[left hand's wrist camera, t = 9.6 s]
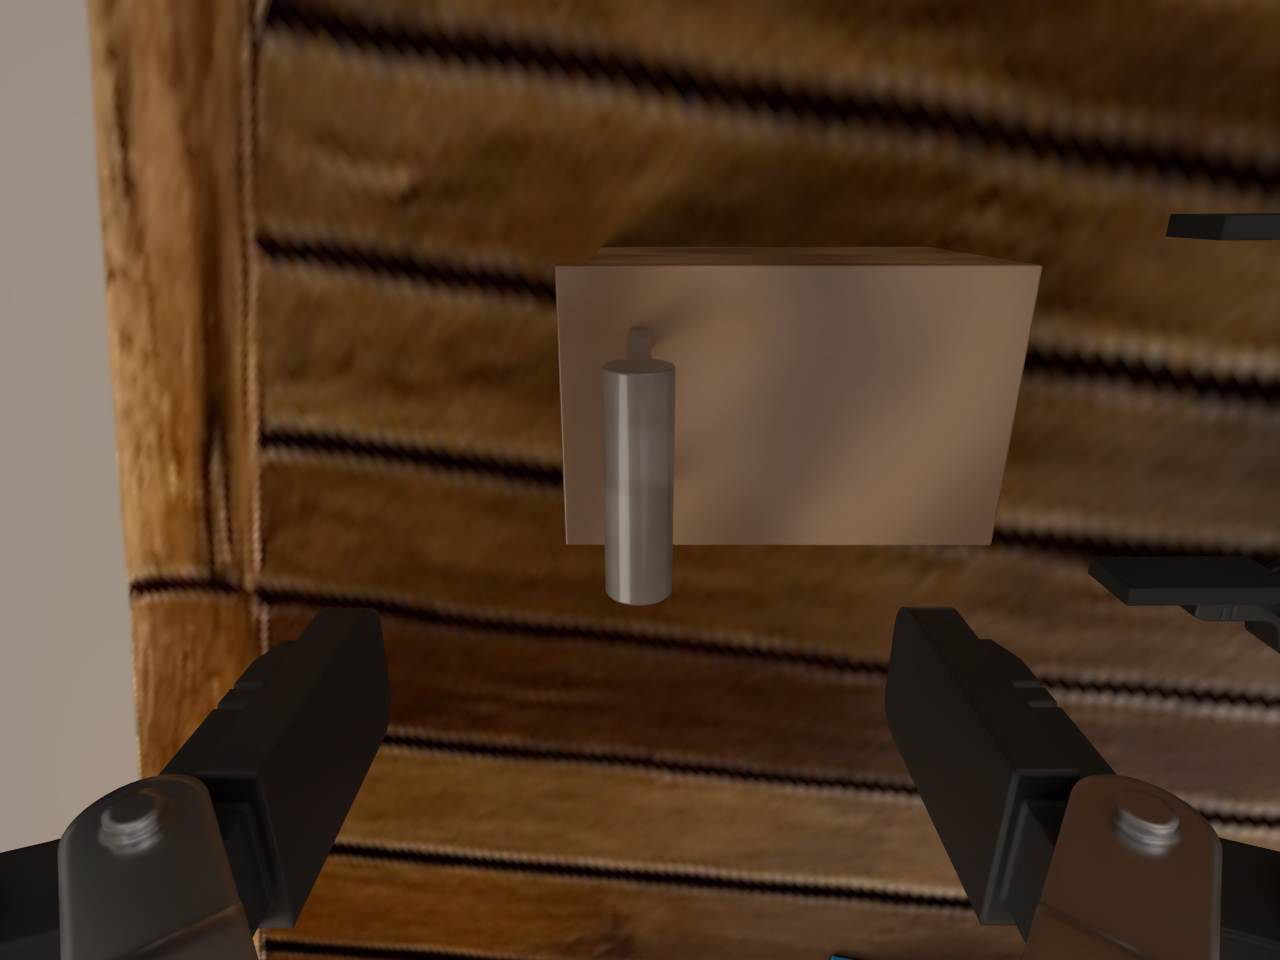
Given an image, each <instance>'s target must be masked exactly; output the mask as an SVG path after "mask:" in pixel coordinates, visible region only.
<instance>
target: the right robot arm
mask: <svg viewBox="0 0 1280 960" xmlns="http://www.w3.org/2000/svg"><path fill="white" fill-rule="evenodd" d="M1166 236H1167V237H1181V238H1195V239H1209V240H1280V213H1257V214H1171V216H1170V220H1169V225H1168V229H1167V233H1166ZM1088 574H1090V575H1091V576H1092V577H1093V578H1094V579H1096V580H1097V581H1098V582H1099V583H1100V584H1102V585H1103V586H1104V587H1105V588H1106V589H1108V590H1109V591H1110V592H1111V593H1112V594H1114V595H1115V596H1116V597H1117V598H1118V599H1120V600H1121V601H1122V602H1123V603H1124V604H1126V605H1127V606H1149V605H1180V606H1181V607H1182V608H1183V609H1185V610H1186V611H1187V612H1189V613H1190V614H1191V615H1193V616H1194V617H1196V618H1198V619H1201V620H1204V621H1245V628H1246V630H1247V631H1249V632H1250V633H1251V634H1253V635H1254V636H1256V637H1257V638H1258V639H1260V640H1261V641H1263V642H1264V643H1265V644H1267V645H1268V646H1270V647H1271V648H1272V649H1274V650H1275V651H1277V652H1278V653H1279V654H1280V557H1279V558H1278V559H1276V560H1274V561H1273V562H1271V563H1270V564H1268V565H1266V566H1265V567H1264V566H1262V565H1261V564H1259V563H1257V562H1255V561H1254V560H1252V559H1250V558H1249V557H1247V556H1183V557H1091V562H1090V566H1089V570H1088Z"/></svg>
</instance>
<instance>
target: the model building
mask: <svg viewBox="0 0 1280 960" xmlns="http://www.w3.org/2000/svg"><path fill="white" fill-rule="evenodd" d="M831 960H851V959H846V958H840V957H835V956H832V958H831Z"/></svg>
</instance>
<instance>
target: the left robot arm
mask: <svg viewBox="0 0 1280 960" xmlns="http://www.w3.org/2000/svg"><path fill="white" fill-rule="evenodd" d="M885 707H886V716H887V721H888V725H889V729H890V732H891V734H892V737H893V739H894V741H895V743H896V745H897V747H898V749H899V751H900V754H901V756H902V758H903V760H904V762H905V764H906V766H907V768H908V771H909V773H910V775H911V777H912V779H913V781H914V783H915V785H916V788H917V790H918V792H919V794H920V796H921V798H922V800H923V802H924V805H925V807H926V809H927V811H928V813H929V815H930V817H931V819H932V822H933V824H934V826H935V828H936V830H937V832H938V834H939V837H940V839H941V841H942V843H943V845H944V847H945V849H946V851H947V854H948V856H949V858H950V860H951V862H952V864H953V866H954V868H955V871H956V873H957V875H958V877H959V879H960V881H961V883H962V885H963V888H964V890H965V892H966V894H967V896H968V898H969V900H970V902H971V905H972V907H973V909H974V911H975V913H976V915H977V917H978V919H979V922H980V924H981V925H1016V926H1017V927H1018V929H1019V931H1020V933H1021V935H1022V937H1023V939H1024V941H1025V943H1026V946H1025V949H1024V953H1023V956H1022V959H1021V960H1280V852H1279V851H1274V850H1270V849H1266V848H1261V847H1257V846H1253V845H1249V844H1244V843H1240V842H1236V841H1231V840H1227V839H1223V838H1219V837H1218V835H1217V834H1216V832H1215V830H1214V829H1213V827H1212V826H1211V825H1210V824H1209V823H1208V821H1207V820H1206V819H1205V818H1204V817H1203V816H1202V815H1201V814H1200V813H1199V812H1197V811H1196V810H1195V809H1194V808H1193V807H1191V806H1190V805H1189V804H1187V803H1186V802H1185V801H1183V800H1181V799H1180V798H1178V797H1177V796H1175V795H1173V794H1171V793H1170V792H1168V791H1166V790H1164V789H1162V788H1160V787H1157V786H1155V785H1152V784H1150V783H1147V782H1144V781H1141V780H1138V779H1135V778H1131V777H1126V776H1120V775H1117V774H1116V773H1115V772H1114V771H1113V770H1112V768H1111V767H1110V766H1109V765H1108V764H1107V762H1106V761H1105V760H1104V759H1103V758H1102V756H1101V755H1100V754H1099V753H1098V751H1097V750H1096V749H1095V748H1094V747H1093V745H1092V744H1091V743H1090V742H1089V741H1088V739H1087V738H1086V737H1085V736H1084V735H1083V733H1082V732H1081V731H1080V730H1079V729H1078V727H1077V726H1076V725H1075V724H1074V723H1073V721H1072V720H1071V719H1070V718H1069V716H1068V715H1067V714H1066V713H1065V712H1064V710H1063V709H1062V708H1058V707H1057V702H1056V701H1055V700H1054V698H1053V697H1052V696H1051V695H1050V694H1049V692H1048V691H1047V690H1046V689H1045V688H1041V683H1040V681H1039V680H1038V679H1037V678H1036V677H1035V675H1034V674H1033V673H1032V672H1031V671H1030V669H1029V668H1028V667H1027V666H1026V665H1025V663H1024V662H1023V661H1022V660H1021V659H1020V658H1018V657H1017V656H1015V655H1014V654H1012V653H1011V652H1009V651H1008V650H1006V649H1005V648H1003V647H1002V646H1000V645H999V644H997V643H996V642H994V641H993V640H991V639H978V637H977V636H976V635H975V633H974V632H973V631H972V630H971V628H970V627H969V626H968V624H967V623H966V622H965V621H964V619H963V618H962V617H961V615H960V614H959V613H958V611H957V610H956V609H954V608H953V607H902V608H901V609H900V610H899V611H898V614H897V617H896V621H895V627H894V635H893V642H892V649H891V656H890V663H889V670H888V677H887V684H886V692H885ZM390 712H391V691H390V684H389V677H388V670H387V663H386V656H385V649H384V642H383V635H382V628H381V622H380V618H379V615H378V612H377V611H376V610H375V609H374V608H324V609H322V610H320V611H319V612H318V614H317V615H316V616H315V617H314V619H313V620H312V621H311V623H310V624H309V625H308V626H307V628H306V629H305V630H304V632H303V633H302V634H301V635H300V637H299V638H298V639H297V641H284V642H282V643H281V644H279V645H278V646H276V647H274V648H273V649H271V650H270V651H268V652H267V653H265V654H264V655H262V656H261V657H259V658H258V659H256V660H255V661H254V662H253V663H252V664H251V665H250V666H249V668H248V669H247V670H246V671H245V672H244V674H243V675H242V676H241V677H240V678H239V680H238V681H237V682H236V683H235V684H234V689H230V690H229V692H228V693H227V694H226V695H225V696H224V697H223V699H222V700H221V701H220V702H219V703H218V708H217V709H213V711H212V712H211V713H210V714H209V715H208V717H207V718H206V719H205V720H204V721H203V723H202V724H201V725H200V726H199V727H198V729H197V730H196V731H195V732H194V733H193V735H192V736H191V737H190V738H189V739H188V741H187V742H186V743H185V744H184V745H183V747H182V748H181V749H180V750H179V751H178V753H177V754H176V755H175V756H174V757H173V758H172V760H171V761H170V762H169V763H168V764H167V766H166V767H165V768H164V769H163V770H162V772H161V773H160V774H159V775H158V776H154V777H149V778H145V779H142V780H139V781H136V782H133V783H130V784H128V785H125V786H123V787H120V788H118V789H116V790H114V791H112V792H111V793H109V794H107V795H105V796H104V797H102V798H100V799H99V800H97V801H96V802H94V803H93V804H91V805H90V806H89V807H87V808H86V809H85V810H84V811H83V812H81V813H80V814H79V815H78V816H77V817H76V818H75V819H74V820H73V821H72V823H71V824H70V825H69V826H68V827H67V829H66V830H65V832H64V834H63V835H62V837H61V839H57V840H53V841H50V842H45V843H41V844H37V845H33V846H28V847H24V848H19V849H15V850H11V851H6V852H3V853H0V960H259V959H258V956H257V953H256V949H255V946H254V942H253V939H252V938H253V936H254V934H255V932H256V930H257V929H258V928H294V925H295V923H296V921H297V919H298V917H299V915H300V913H301V911H302V909H303V907H304V904H305V902H306V900H307V898H308V896H309V894H310V892H311V890H312V888H313V886H314V883H315V881H316V879H317V877H318V875H319V873H320V871H321V869H322V867H323V864H324V862H325V860H326V858H327V856H328V854H329V852H330V850H331V848H332V846H333V843H334V841H335V839H336V837H337V835H338V833H339V831H340V829H341V827H342V825H343V822H344V820H345V818H346V816H347V814H348V812H349V810H350V808H351V806H352V804H353V801H354V799H355V797H356V795H357V793H358V791H359V789H360V787H361V785H362V783H363V780H364V778H365V776H366V774H367V772H368V770H369V768H370V766H371V764H372V762H373V759H374V757H375V755H376V753H377V751H378V749H379V747H380V745H381V743H382V740H383V738H384V736H385V734H386V731H387V728H388V724H389V719H390Z"/></svg>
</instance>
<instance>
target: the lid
mask: <svg viewBox="0 0 1280 960" xmlns="http://www.w3.org/2000/svg"><path fill="white" fill-rule="evenodd" d="M1041 272H1042V266H1041V265H1037V264H1031V263H559V264H557V265H556V266H555V285H556V311H557V336H558V362H559V387H560V413H561V438H562V464H563V489H564V515H565V540H566V544H567V545H605V584H606V592H607V594H608V595H609V596H610V597H611V598H612V599H614V600H615V601H618V602H620V603H623V604H628V605H649V604H654V603H657V602H660V601H662V600H664V599H666V598H667V597H668V596H669V595H670V593H671V591H672V562H673V545H991V541H992V536H993V530H994V525H995V520H996V514H997V509H998V504H999V498H1000V493H1001V487H1002V482H1003V477H1004V471H1005V466H1006V461H1007V455H1008V450H1009V444H1010V439H1011V434H1012V428H1013V423H1014V418H1015V412H1016V407H1017V401H1018V396H1019V391H1020V385H1021V380H1022V375H1023V369H1024V364H1025V358H1026V353H1027V348H1028V342H1029V337H1030V332H1031V326H1032V321H1033V315H1034V310H1035V305H1036V299H1037V294H1038V289H1039V283H1040V278H1041Z"/></svg>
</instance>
